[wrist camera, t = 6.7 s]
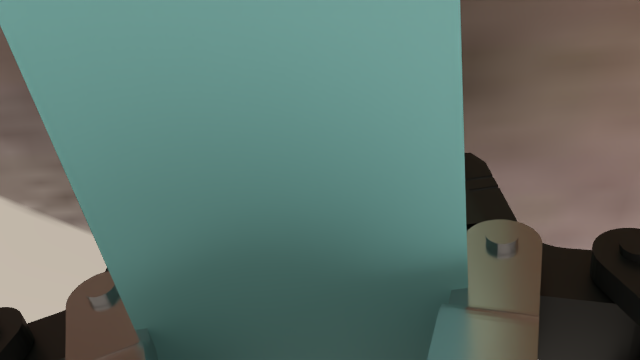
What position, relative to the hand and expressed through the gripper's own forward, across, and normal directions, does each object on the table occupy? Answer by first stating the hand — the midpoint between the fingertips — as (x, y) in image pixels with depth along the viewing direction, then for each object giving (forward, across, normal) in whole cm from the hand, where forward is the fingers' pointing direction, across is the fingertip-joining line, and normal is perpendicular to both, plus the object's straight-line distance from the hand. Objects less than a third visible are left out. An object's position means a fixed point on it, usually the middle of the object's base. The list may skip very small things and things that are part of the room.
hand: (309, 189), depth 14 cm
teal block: (+1, 0, -9) cm, 9 cm away
